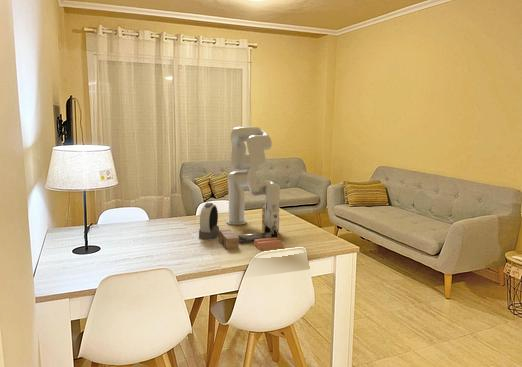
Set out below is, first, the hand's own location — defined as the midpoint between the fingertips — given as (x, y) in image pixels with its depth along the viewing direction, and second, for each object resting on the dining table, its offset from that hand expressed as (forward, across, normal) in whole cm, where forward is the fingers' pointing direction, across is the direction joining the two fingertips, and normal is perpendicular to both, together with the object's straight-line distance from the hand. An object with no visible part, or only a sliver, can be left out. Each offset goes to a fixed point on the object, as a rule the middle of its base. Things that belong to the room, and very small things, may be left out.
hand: (270, 237), depth 214 cm
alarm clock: (+2, +16, +30) cm, 34 cm away
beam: (+1, -1, +24) cm, 24 cm away
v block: (0, -10, +6) cm, 12 cm away
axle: (-1, 0, +8) cm, 8 cm away
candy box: (+1, +11, -4) cm, 12 cm away
